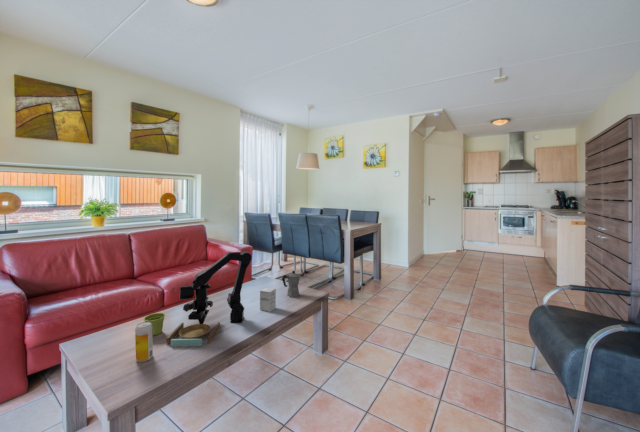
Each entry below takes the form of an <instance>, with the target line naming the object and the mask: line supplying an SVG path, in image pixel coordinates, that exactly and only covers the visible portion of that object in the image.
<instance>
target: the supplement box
mask: <svg viewBox="0 0 640 432" xmlns="http://www.w3.org/2000/svg"><path fill="white" fill-rule="evenodd" d="M276 293H277V289H276V288H272V287H264V288H262V289H261V290H259V310H260V311H263V312H264V311H265V312H272V311H273V310H275V309H276V307H277V306H276V298H277V295H276Z"/></svg>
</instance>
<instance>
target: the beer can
mask: <svg viewBox="0 0 640 432" xmlns="http://www.w3.org/2000/svg"><path fill="white" fill-rule="evenodd" d="M134 333H135V335H134V338H135V339H134V340H135V341H134V342H135V360H136V361H137V362H139V363H143V362H147V361H149V360H151V359H152V357H153V356H154V350H153V349H154V347H153V346H154V345H153V336H152V324H151V322H145V321H143V322H140V323H139V322H138V323H137V324H136V326H135V328H134Z"/></svg>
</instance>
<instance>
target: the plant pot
mask: <svg viewBox="0 0 640 432" xmlns="http://www.w3.org/2000/svg"><path fill="white" fill-rule="evenodd" d="M165 317H166V313H164V312H156V313H150V314H148V315H146V316H144V317H143V322H151V324H152V337H154V336H157V335H160V334H162V332H163V327H164V321H165Z"/></svg>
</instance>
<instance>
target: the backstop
mask: <svg viewBox="0 0 640 432" xmlns="http://www.w3.org/2000/svg"><path fill="white" fill-rule="evenodd" d="M202 346H203V338H200V339H184V338H174V339H171V342H170V347H202Z"/></svg>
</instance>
